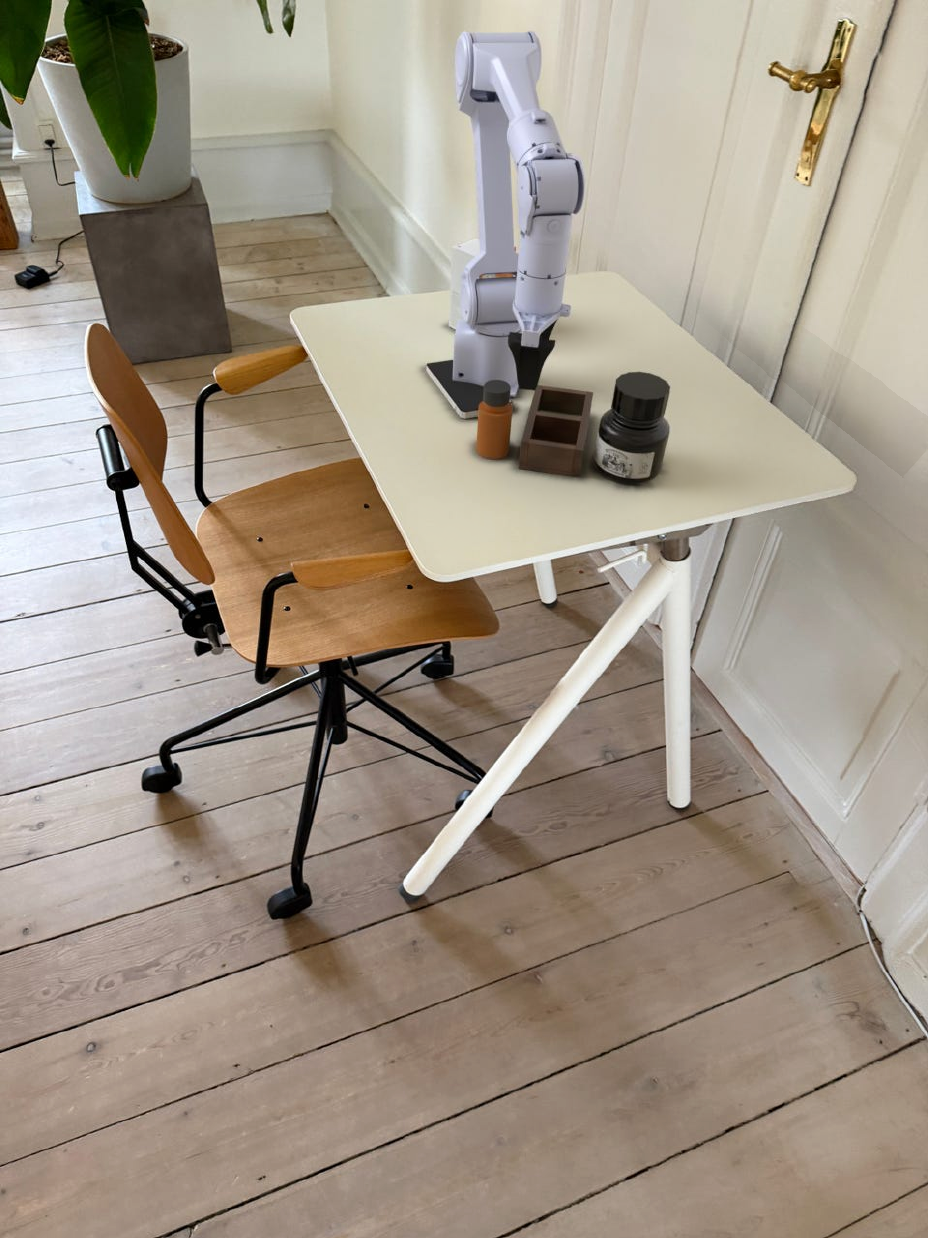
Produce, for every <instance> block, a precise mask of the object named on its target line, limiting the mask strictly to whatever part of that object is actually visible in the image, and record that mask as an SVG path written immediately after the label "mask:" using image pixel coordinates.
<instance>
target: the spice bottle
mask: <svg viewBox="0 0 928 1238" xmlns="http://www.w3.org/2000/svg"><path fill="white" fill-rule="evenodd" d="M510 390H511V387H510V385H509V384H508V383H507V382H505V381H502V380H491V381H488V382H486V383H485V384H484V393H483V401H482V402H481V403H480V404H479V411H478V417H477V428H476V429H477V430H476V443H475V450H476V453H477V454H478V455H479V456H481V457H483V458H485V459H488V460H497V459H498V460H499V459H502V458H505V457H507V455H508V454H509V453H510V445H511V433H512V422H513V411H514V408H513V404H512V405H511V404H510V403H509V401H511V397H510Z"/></svg>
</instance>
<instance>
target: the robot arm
mask: <svg viewBox="0 0 928 1238" xmlns="http://www.w3.org/2000/svg"><path fill="white" fill-rule="evenodd" d="M540 41H541V40H540V39H539V37H538V36H537V34H536V32H535V31H533V30H528V31H525V32H470V31H468V30H464V31H462V32H461V34H460V35H459V36H458V38H457V40H456V44H455V54H454V56H455V57H454V75H455V76H454V77H455V90H456V91H455V92H456V94H455V95H456V101H457V103H458V104H457V105H458V110H459V111H460V112H461V113H463V114H464V115H467V116H468V117H470V123H471V130H472V134H473V148H474V149H473V151H474V167H475V168H474V170H475V185H476V188H475V189H476V203H477V223H478V238H479V244H480V252H479V253H478V255H477V256H475V257H474V258H473V259H472V260H471V261H470V262H469V263H468V264H467V265H466V266H465V267H464V268H463V271H462V274H461V291H460V306H461V313H462V317H463V319H460V320H459V321H458V324H457V328H456V330H455V333H454V342H453V357H452V358H453V359H452V360H453V380H454V381H461V382H468V383H474V384H478V385H481V386H484V384H485V383H486V382H488V381H491V380H502V381H505V382H507V383H508V384H509V385H510V387H511V390H510V398H515V397H516V396H517V393H518V390H526V391H533V392H534V391H535V390H536V387H537V385H539V382H540V379H541V375H542V371H543V368H544V366H545V363H546V361H547V359H548V357H549V356H550V355H551V353H552V352H553V350H554V349H555V346H556V340H555V339H550V338H551V335H552V332H553V330H554V327H555V325H556V323H557V321H558V320H559V318H561V317H564V318H568V317H570V316H571V312H572V305H570V304H566V303H563V298H564V289H565V281H566V274H567V266H568V265H567V264H568V257H569V249H570V242H571V241H570V240H571V233H572V224H573V216H572V215H577V214H579V212H580V211H581V209H582V207H583V203H584V199H585V173H584V169H583V168H584V167H583V165H582V161H581V159H580V158H579V157H578V156H573V154H572V152H566V150H565V147H564V145H563V141H562V139H561V135H560V134H559V130H558V129H557V124H556V122H555V119H554V117H553V116H552V115H551V113H550V112H548V111H546V110H544V109H541V106H540V101H539V97H538V92H537V84H538V81H539V80H540V75H541V70H542V61H543V60H542V59H543V58H542V57H543V56H542V47H541V42H540ZM511 158H512V160H513V164H514V166H515V167H514V168H515V170H516V173H517V179H516V198H517V226H518V227H519V230H520V233H519V235H520V236H519V246H518V247H519V248H518V253H517V251H516V252H515V250H514V246H515V232H514V229H515V228H514V210H513V209H514V207H513V186H512V185H513V183H512V164H511ZM506 273H508V274H513V275H514V277H499V278H482V279H477V278H478V277H479V276H480V275H489V274H506ZM460 373H463V374H464V376H460V375H459V374H460Z"/></svg>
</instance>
